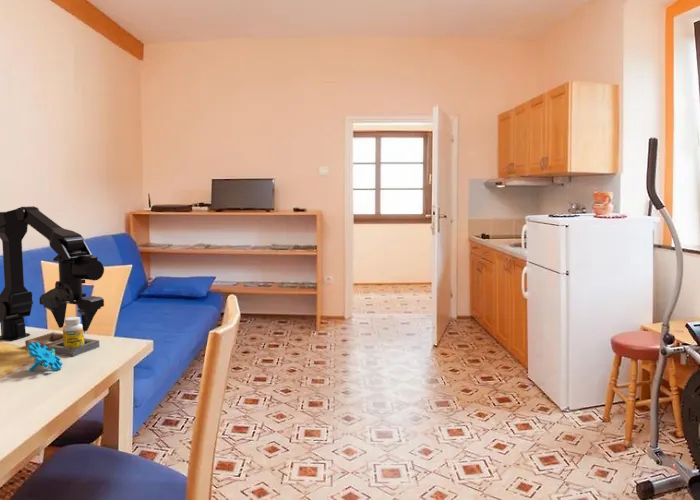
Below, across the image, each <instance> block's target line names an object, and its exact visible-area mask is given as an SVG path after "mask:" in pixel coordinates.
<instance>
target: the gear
mask: <svg viewBox="0 0 700 500" xmlns="http://www.w3.org/2000/svg"><path fill="white" fill-rule="evenodd" d="M40 345H41V344H40V343H38V342H36V343H33V342H31V343H30V344H29V347H26V350H27V351H29V352H28V354H29V356H30V357H35V358H34V360H33V361H35V363H34V364H33V365H32V366H31V367H30V368H28V370H29V372H33V371H35V370H36V368H38V367H39V366H41V367H43V368H44V369H47V368H48V367H49V366H50V367H49V370H51V371H53V372H55V370H56V371H60V370H61V369H62V368H63V367H62V366H63V363H64V362H62V361H61V357H60V356H59V355H56V354H55V350H54V349H53V348H52V349H51V350H50V351H48V350H47V349H48V347H47V346H46V345H44V346H43V347H42V348H41V347H40Z"/></svg>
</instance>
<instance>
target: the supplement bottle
mask: <svg viewBox="0 0 700 500" xmlns="http://www.w3.org/2000/svg"><path fill="white" fill-rule="evenodd" d="M64 324H65V325H63V327H62V334H63V341H64V347H69V348H75V347H78V346H81V345H84V338H85V331H83V327H82V323H81V317H80V316H69V317H65V320H64Z"/></svg>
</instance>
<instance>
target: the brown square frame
mask: <svg viewBox="0 0 700 500" xmlns="http://www.w3.org/2000/svg"><path fill="white" fill-rule="evenodd" d="M24 341H25V348H27V347H29V344H30V343H31V342H33V343H36V342H38V343H40V344H41V345H40V347H41V348H42V347H43V346H44V345H46V346H47V347H48V346H49V345H52V344H55V343H58V342H61V341H63V333H60V332H54V331H53V332H50V333H46V334H43V335H40V336H37V337H33V338H29V339H27V340H24ZM51 341H52V342H51ZM47 350H48V349H47Z"/></svg>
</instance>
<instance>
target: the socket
mask: <svg viewBox="0 0 700 500" xmlns="http://www.w3.org/2000/svg"><path fill="white" fill-rule="evenodd" d="M52 348H53V349H54V350H55V355H60V356H68V357H73V358H74V357H76V356H79V355H82V354H83V353H87V352H89V351H92V350H95V349H98V348H100V340H99V339H98V340H97V339H90V338H85V337H84V345H81V346H78V347H75V348H69V347H64V341H61V342H58V343H55V344H52V345H49V346H48V351H50V350H51V349H52Z"/></svg>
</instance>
